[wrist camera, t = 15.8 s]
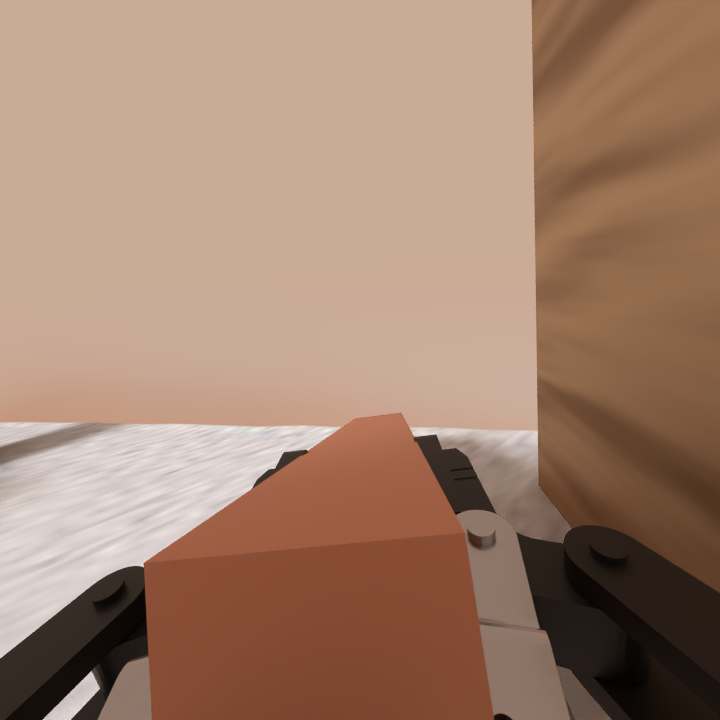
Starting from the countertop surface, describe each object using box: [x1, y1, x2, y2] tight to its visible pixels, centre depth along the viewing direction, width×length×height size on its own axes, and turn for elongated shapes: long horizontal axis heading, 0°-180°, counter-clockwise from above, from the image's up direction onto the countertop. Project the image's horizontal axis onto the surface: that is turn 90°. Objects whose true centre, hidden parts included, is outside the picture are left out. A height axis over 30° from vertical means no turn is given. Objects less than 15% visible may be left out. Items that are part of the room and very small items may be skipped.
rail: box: [144, 413, 494, 720], centre depth 14 cm, size 4×22×4 cm, turn 178°
